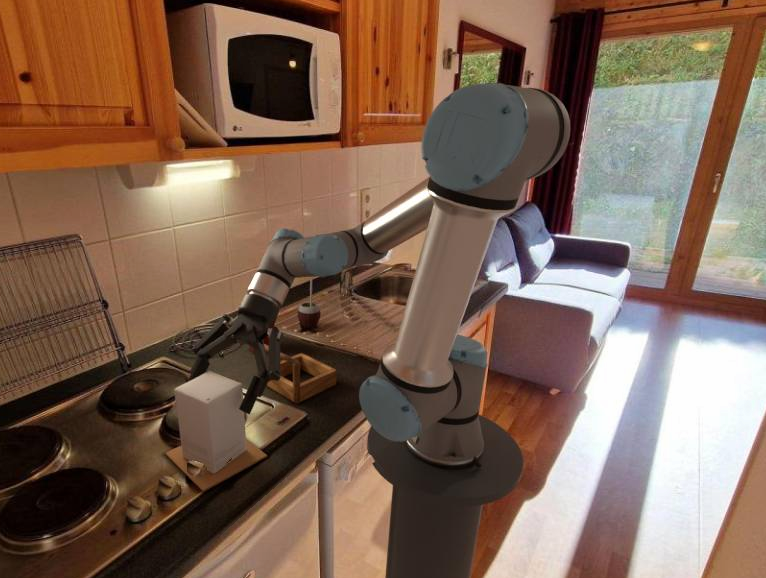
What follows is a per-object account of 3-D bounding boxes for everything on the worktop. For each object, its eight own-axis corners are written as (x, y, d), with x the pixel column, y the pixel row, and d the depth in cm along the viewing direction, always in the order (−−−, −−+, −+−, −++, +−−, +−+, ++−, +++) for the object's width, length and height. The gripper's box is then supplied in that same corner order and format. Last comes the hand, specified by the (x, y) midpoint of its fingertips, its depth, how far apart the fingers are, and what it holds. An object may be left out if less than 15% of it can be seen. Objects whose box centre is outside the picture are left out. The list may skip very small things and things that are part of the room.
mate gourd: (305, 335, 145) (305, 288, 139) (292, 327, 151) (291, 281, 145) (325, 330, 149) (326, 284, 143) (311, 322, 155) (311, 277, 149)
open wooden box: (337, 384, 118) (337, 345, 114) (296, 404, 109) (295, 363, 105) (301, 366, 127) (300, 329, 123) (261, 383, 118) (259, 344, 114)
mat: (267, 456, 92) (267, 455, 92) (203, 492, 83) (203, 490, 83) (226, 425, 101) (226, 424, 101) (165, 454, 92) (165, 452, 92)
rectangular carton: (248, 450, 93) (244, 383, 87) (214, 475, 86) (207, 404, 81) (216, 433, 98) (210, 369, 92) (181, 456, 91) (172, 388, 85)
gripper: (323, 322, 91) (279, 427, 85) (226, 299, 104) (180, 389, 97) (308, 304, 85) (259, 415, 79) (206, 281, 97) (156, 376, 91)
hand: (215, 401), depth 88 cm, fingers open, 13 cm apart
